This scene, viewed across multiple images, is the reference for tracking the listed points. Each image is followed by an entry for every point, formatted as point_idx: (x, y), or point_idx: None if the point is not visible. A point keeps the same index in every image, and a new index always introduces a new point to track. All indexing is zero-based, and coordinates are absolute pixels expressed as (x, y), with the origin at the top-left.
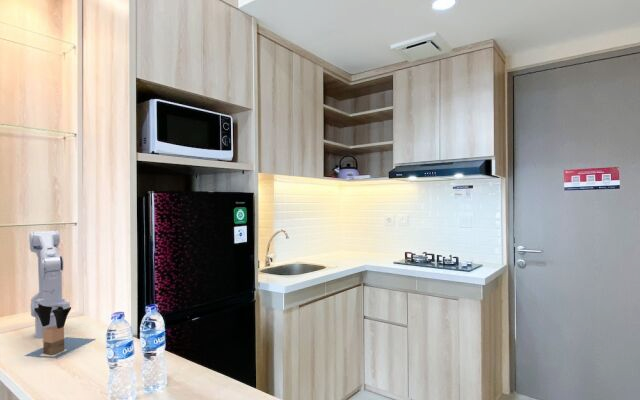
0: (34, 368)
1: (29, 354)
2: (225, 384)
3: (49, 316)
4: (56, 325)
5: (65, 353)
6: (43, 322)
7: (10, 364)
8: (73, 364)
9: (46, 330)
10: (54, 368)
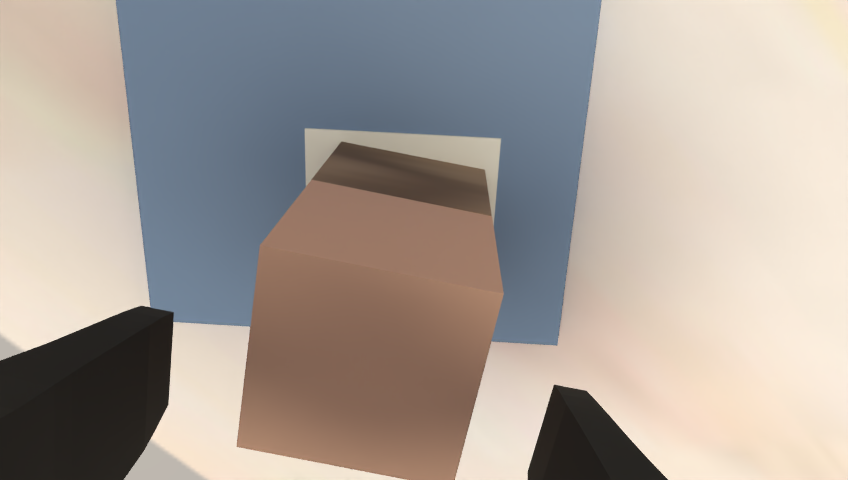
0: (473, 475)
1: (176, 287)
2: None
3: (75, 388)
4: (297, 256)
5: (554, 231)
6: (129, 454)
7: (182, 428)
8: (783, 390)
9: (327, 458)
10: (655, 465)
